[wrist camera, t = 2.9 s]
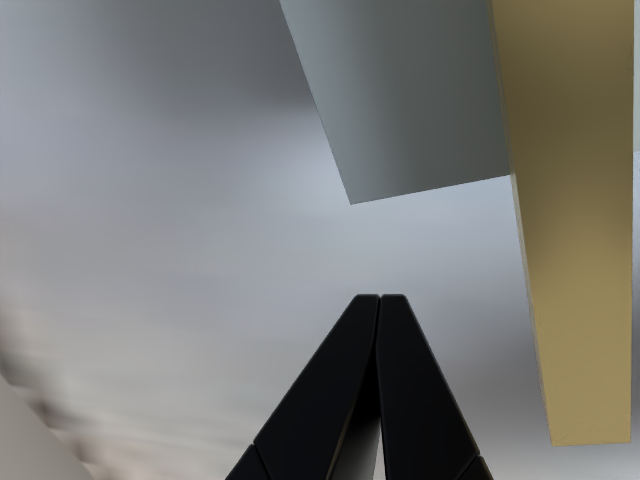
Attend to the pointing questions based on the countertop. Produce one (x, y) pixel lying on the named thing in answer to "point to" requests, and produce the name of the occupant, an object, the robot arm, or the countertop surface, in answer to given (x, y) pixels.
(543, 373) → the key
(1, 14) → the countertop surface
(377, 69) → the cover
